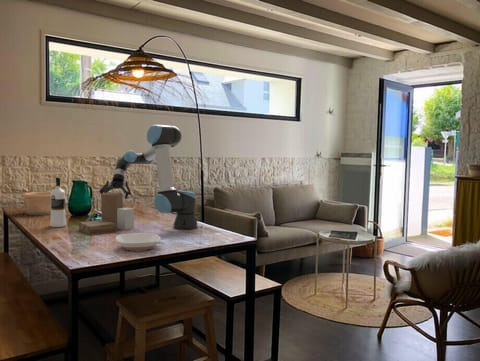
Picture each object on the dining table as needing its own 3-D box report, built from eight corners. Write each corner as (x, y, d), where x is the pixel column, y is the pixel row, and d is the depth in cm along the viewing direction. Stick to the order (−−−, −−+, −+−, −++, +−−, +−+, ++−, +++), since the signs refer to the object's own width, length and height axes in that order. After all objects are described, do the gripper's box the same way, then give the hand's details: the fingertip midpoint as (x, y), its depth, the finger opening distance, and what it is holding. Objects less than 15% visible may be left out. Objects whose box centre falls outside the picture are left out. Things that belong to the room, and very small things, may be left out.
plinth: (116, 232, 244) (117, 223, 244) (90, 235, 234) (90, 226, 233) (105, 227, 256) (105, 219, 256) (79, 230, 245) (79, 222, 245)
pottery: (42, 216, 285) (42, 195, 284) (16, 214, 291) (15, 194, 290) (63, 212, 306) (63, 192, 305) (39, 210, 312) (39, 191, 311)
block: (115, 226, 259) (115, 194, 256) (101, 225, 261) (100, 194, 258) (123, 223, 268) (123, 192, 266) (109, 222, 270) (108, 191, 268)
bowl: (163, 252, 201) (163, 241, 200) (116, 254, 193) (116, 243, 193) (156, 242, 221) (156, 232, 221) (114, 244, 214) (114, 234, 213)
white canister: (133, 227, 257) (134, 208, 256) (125, 229, 251) (125, 209, 250) (126, 226, 260) (126, 207, 259) (117, 228, 254) (117, 208, 253)
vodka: (69, 225, 256) (69, 177, 254) (56, 228, 248) (56, 178, 246) (59, 224, 261) (59, 176, 259) (46, 226, 253) (46, 177, 250)
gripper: (138, 181, 284) (133, 206, 270) (101, 180, 283) (94, 205, 269) (136, 173, 278) (131, 199, 265) (99, 172, 277) (91, 197, 264)
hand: (112, 202), depth 267 cm, fingers open, 13 cm apart
